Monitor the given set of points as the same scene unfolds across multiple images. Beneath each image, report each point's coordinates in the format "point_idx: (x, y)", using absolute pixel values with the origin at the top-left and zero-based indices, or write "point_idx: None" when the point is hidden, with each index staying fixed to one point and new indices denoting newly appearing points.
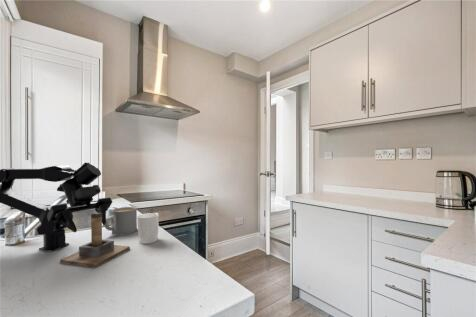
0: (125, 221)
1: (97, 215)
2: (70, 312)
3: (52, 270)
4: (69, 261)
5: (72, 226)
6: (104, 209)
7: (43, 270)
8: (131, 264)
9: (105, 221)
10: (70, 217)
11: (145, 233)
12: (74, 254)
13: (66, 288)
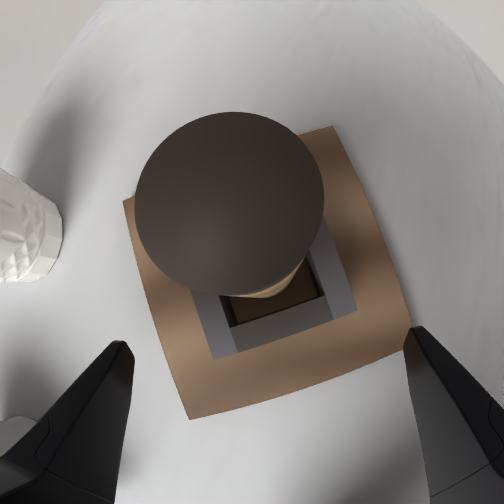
0: (2, 450)
1: (247, 119)
2: (423, 6)
3: (450, 272)
4: (396, 280)
5: (455, 359)
6: (15, 465)
7: (468, 306)
8: (227, 59)
9: (106, 352)
10: (497, 448)
11: (28, 191)
12: (350, 356)
13: (431, 83)
